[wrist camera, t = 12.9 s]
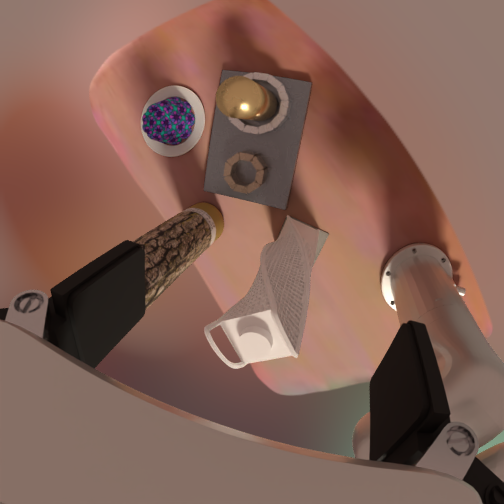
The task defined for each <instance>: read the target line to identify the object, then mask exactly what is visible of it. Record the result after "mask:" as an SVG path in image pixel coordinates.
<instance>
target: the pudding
mask: <svg viewBox="0 0 504 504" xmlns="http://www.w3.org/2000/svg"><path fill="white" fill-rule="evenodd" d="M169 97H171V98H169ZM179 97H180V98H183V99H185V100H186V101H181V99H180V98H179ZM166 98H168V99H166ZM164 99H166V100H164ZM187 101H188V102H189V103H190V104H189V103H188V102H187ZM191 106H192V108H193V110H194V113H195V116H194V114H193V113H192V112H191ZM194 123H195V126H194V130H193V132H192V130H191V127H192V125H193V124H194ZM204 124H205V114H204V109H203V105H202V103H201V101H200V99H199V98H198V97H197V95H196V94H195V93H193V92H192V91H191V90H189V89H188V88H185V87H183V86H177V85H175V86H167V87H164V88H162V89H160V90H158V91H157V92H155V93H154V94H153V95H152V96H151V97H150V98H149V100H148V101H147V103H146V104H145V106H144V109H143V112H142V116H141V130H142V134H143V137H144V139H145V141H146V143H147V144H148V146H149V147H150V148H151V149H152V150H153V151H155V152H156V153H158V154H160V155H163V156H166V157H175V156H180V155H183V154H185V153H186V152H188V151H189V150H191V149H192V148H193V147H194V146H195V145H196V144H197V142H198V141H199V139H200V137H201V135H202V132H203V129H204ZM191 132H192V134H191ZM190 134H191V135H190ZM189 136H190V137H189ZM188 137H189V138H188ZM187 138H188V139H187ZM182 139H187V140H186V141H185V142H183V143H181V141H182ZM163 143H165V144H166V143H168V144H172V145H175V146H168V145H165V144H163ZM179 143H181V144H179ZM177 144H179V145H177Z"/></svg>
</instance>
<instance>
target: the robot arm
mask: <svg viewBox="0 0 504 504" xmlns="http://www.w3.org/2000/svg"><path fill="white" fill-rule="evenodd" d="M414 248H415V249H414ZM412 249H414V250H412ZM442 258H443V259H442ZM387 271H389V272H387ZM452 278H453V273H452V267H451V263H450V261H449V259H448V257H447V256H446V255H445V253H444V252H443V251H441V250H440V249H439V248H437V247H436V246H434V245H431V244H427V243H415V244H411V245H408V246H406V247H404V248H402V249H400V250H399V251H397V252H396V253H395V254H394V255H393V256H392V257H391V258H390V259H389V260H388V262H387V263H386V265H385V267H384V269H383V272H382V276H381V289H382V293H383V297H384V299H385V300H386V302H387V303H388V305H389V306H390V307H391V308H393V309H394V310H396V311H397V314H398V318H399V322H400V329H399V330H398V332H397V334H396V336H395V338H394V340H393V342H392V344H391V345H390V347H389V349H388V351H387V353H386V354H385V356H384V358H383V360H382V361H381V363H380V365H379V366H378V368H377V370H376V371H375V373H374V375H373V376H372V378H371V381H370V412H368V413H367V414H365V415H364V416H363V417H362V418H361V419H360V420H359V421H358V423H357V424H356V426H355V428H354V432H353V438H352V442H353V450H354V454H355V458H352V457H346V456H340V455H335V454H329V453H324V452H319V451H314V450H309V449H305V448H300V447H296V446H292V445H287V444H284V443H280V442H276V441H272V440H268V439H265V438H261V437H258V436H254V435H251V434H248V433H244V432H241V431H238V430H235V429H232V428H228V427H226V426H223V425H220V424H217V423H214V422H211V421H209V420H206V419H203V418H200V417H197V416H195V415H192V414H190V413H187V412H185V411H182V410H180V409H177V408H175V407H173V406H170V405H168V404H165V403H163V402H161V401H158V400H156V399H154V398H152V397H150V396H147V395H145V394H143V393H141V392H139V391H136V390H135V389H132V388H131V387H128V386H126V385H124V384H122V383H120V382H118V381H116V380H115V379H112V378H111V377H109V376H107V375H105V374H103V373H101V372H99V371H98V370H96V369H94V368H95V367H96V366H97V365H98V364H99V363H100V362H101V361H102V359H104V357H105V356H106V355H107V354H108V353H109V352H110V351H111V350H112V349H113V348H114V347H115V346H116V345H117V344H118V343H119V342H120V340H121V339H122V338H123V337H124V336H125V335H126V334H127V333H128V332H129V331H130V330H131V329H132V328H133V327H134V326H135V325H136V323H137V322H139V320H140V319H141V318H142V317H143V316H144V314H145V310H146V304H145V251H144V249H142V246H141V245H140V244H138V243H135V242H132V241H129V240H126V241H124V242H122V243H120V244H119V245H117V246H116V247H114V248H112V249H111V250H109V251H108V252H106V253H105V254H103V255H101V256H100V257H98V258H97V259H95V260H94V261H92V262H90V263H89V264H87V265H86V266H84V267H83V268H81V269H80V270H78V271H77V272H75V273H74V274H72V275H71V276H69V277H68V278H66V279H65V280H63V281H62V282H60V283H59V284H58V285H56V286H55V287H53V288H52V289H51V294H52V297H50V298H49V299H48V297H47V295H46V294H45V293H44V292H42V291H39V290H27V291H24V292H21V293H19V294H18V295H16V296H15V297H14V298H13V299H12V301H11V303H10V306H9V308H5V309H4V308H3V309H0V504H504V442H502V443H499V444H497V445H495V446H493V447H491V448H489V449H487V450H485V451H483V452H481V453H479V454H477V452H478V449H479V448H480V447H481V446H483V445H485V444H486V443H488V442H489V441H491V440H492V439H494V438H495V437H496V436H497V435H498V434H500V433H501V432H502V431H503V430H504V363H503V362H502V360H501V359H500V358H499V356H498V355H497V354H496V353H495V351H494V350H493V349H492V347H491V346H490V344H489V343H488V342H487V340H486V339H485V337H484V335H483V333H482V332H481V330H480V328H479V327H478V325H477V323H476V321H475V320H474V318H473V316H472V314H471V313H470V311H469V309H468V308H467V306H466V304H465V302H464V301H463V299H462V297H461V296H464V294H465V288H463V287H460V286H456V284H455V283H454V281H453V279H452ZM476 454H477V455H476Z"/></svg>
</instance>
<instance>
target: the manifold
mask: <svg viewBox="0 0 504 504" xmlns="http://www.w3.org/2000/svg"><path fill="white" fill-rule="evenodd" d="M233 76H244V77H247V78H249V79H251V80H252V81H254V82H256V83H258V84H260V85H261V86H263V87H265V88H266V89H268V90H270V91H271V92H272V93H273V94H274V95H275V97H276V99H277V109H276V112H275V113H274V115H273V116H272V117H271V118H269V119H267V120H265V121H253V120H245V119H237V118H231V117H228V116H226V115H224V114H223V113H222V112H221V111H220V110H219V108H218V106H217V103H216V109H215V115H214V121H213V128H212V134H211V141H210V147H209V154H208V161H207V168H206V176H205V183H204V191H207V192H212V193H216V194H221V195H225V196H229V197H234V198H238V199H242V200H247V201H251V202H255V203H259V204H263V205H267V206H271V207H275V208H279V209H283V210H286V208H287V205H288V201H289V196H290V191H291V187H292V182H293V177H294V173H295V168H296V163H297V158H298V154H299V149H300V144H301V139H302V134H303V129H304V124H305V119H306V114H307V109H308V104H309V99H310V94H311V89H312V83H311V82H306V81H301V80H296V79H290V78H284V77H278V76H272V75H270V74H265V73H257V72H254V73H253V72H251V73H248V72H239V71H228V70H222V75H221V80H220V85H221V83H222V82H223V81H225V80H226V79H228V78H230V77H233Z"/></svg>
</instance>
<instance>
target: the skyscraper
mask: <svg viewBox="0 0 504 504" xmlns="http://www.w3.org/2000/svg"><path fill="white" fill-rule="evenodd" d="M328 235H329V234H328V233H326V232H324V231H322V230H320V229H317V228H315V227H313V226H311V225H309V224H306V223H304V222H302V221H300V220H297V219H295V218H293V217H291V216H289V215H287V217H286V219H285V221H284V224H283V226H282V228H281V231H280V233H279V235H278V238H277V240H276V241H275V242H271V243H268V244H266V245H265V246H264V248H263V250H262V252H261V258H260V261H261V265H260V268H259V271H258V274H257V276H256V278H255V281H254V283H253V285H252V286H251V288H250V290H249V291H248V293H247V294H246V296H245V297H244V298H243V299H241V300H240V301H239V302H238V303H236V304H235V305H234V306H233V307H232V308H230V309H229V310H228V311H227V312H226V313H225V314H224V315H222V316H221V317H220V318H219V319H218V320H216V321H214V322H213V323H211V324H209V325H207V326H205V329H204V331H205V335H206V337H207V340H208V341H209V343H210V345H211V347H212V348H213V349H214V351H215V352H216V354H217V355H218V356H219V357H220V358H221V360H222V361H223V362H225V363H226V364H227V365H228V366H230V367H232V368H236V369H237V368H241V367H244V366H245V365H246V364H247V363H253V362H259V361H265V360H271V359H276V358H282V357H287V356H293V357H295V358H297V356H298V355H299V351H300V346H301V342H302V337H303V332H304V327H305V322H306V317H307V310H308V304H309V295H310V277H311V271H312V267H313V265H314V263H315V261H316V259H317V257H318V255H319V253H320V251H321V249H322V247H323V245H324V243H325V241H326V239H327V237H328ZM218 325H221V327H222V329H223V330H224V332H225V334H226V335H227V337H228V339H229V341H230V343H231V344H232V346H233V348H234V349H235V351H236V353H237V354H238V356H239V358H240V360H241V361H242V362H240V363H232V362H230V361H228V360H227V359H226V358H225V357H224V356H223V354H221V352H220V351H219V349H218V347H217V346H216V344H215V343H214V341H213V339H212V337H211V335H210V330H212V329H213V328H215V327H217V326H218Z"/></svg>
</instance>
